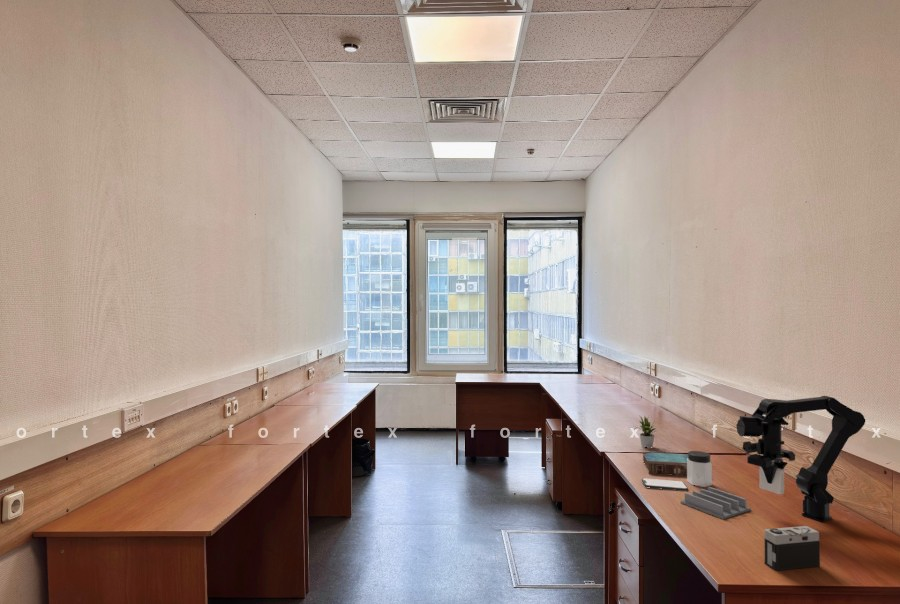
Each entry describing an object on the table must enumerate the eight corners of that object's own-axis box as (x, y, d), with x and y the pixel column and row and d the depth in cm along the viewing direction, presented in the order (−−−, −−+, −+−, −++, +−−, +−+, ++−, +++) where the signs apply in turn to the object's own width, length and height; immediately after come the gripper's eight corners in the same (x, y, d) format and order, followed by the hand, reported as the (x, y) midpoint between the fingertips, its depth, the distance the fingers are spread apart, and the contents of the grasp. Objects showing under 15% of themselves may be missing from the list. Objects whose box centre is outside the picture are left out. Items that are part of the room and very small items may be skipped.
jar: (686, 484, 201) (686, 454, 201) (687, 478, 208) (687, 449, 208) (711, 488, 197) (711, 457, 197) (712, 482, 204) (711, 452, 204)
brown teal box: (648, 475, 214) (648, 463, 214) (641, 462, 231) (641, 451, 232) (706, 478, 210) (706, 466, 210) (694, 465, 227) (694, 454, 227)
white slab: (784, 493, 169) (784, 469, 169) (780, 494, 168) (780, 470, 168) (762, 486, 175) (762, 463, 175) (759, 487, 174) (759, 464, 174)
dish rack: (750, 510, 175) (750, 499, 176) (722, 519, 168) (722, 508, 168) (708, 495, 190) (708, 485, 190) (680, 503, 182) (680, 492, 182)
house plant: (624, 443, 261) (624, 412, 262) (646, 441, 266) (646, 410, 266) (642, 451, 248) (642, 418, 248) (665, 449, 252) (665, 416, 252)
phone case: (682, 485, 203) (641, 481, 206) (682, 481, 203) (641, 477, 206) (688, 493, 194) (645, 489, 197) (688, 489, 194) (645, 485, 197)
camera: (795, 553, 145) (795, 518, 145) (821, 567, 137) (821, 530, 137) (753, 556, 143) (752, 521, 143) (776, 571, 135) (776, 534, 135)
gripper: (762, 428, 183) (763, 471, 183) (732, 434, 174) (732, 480, 174) (796, 435, 173) (796, 481, 173) (765, 442, 164) (765, 490, 164)
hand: (771, 482), depth 171 cm, fingers closed on white slab, 2 cm apart
